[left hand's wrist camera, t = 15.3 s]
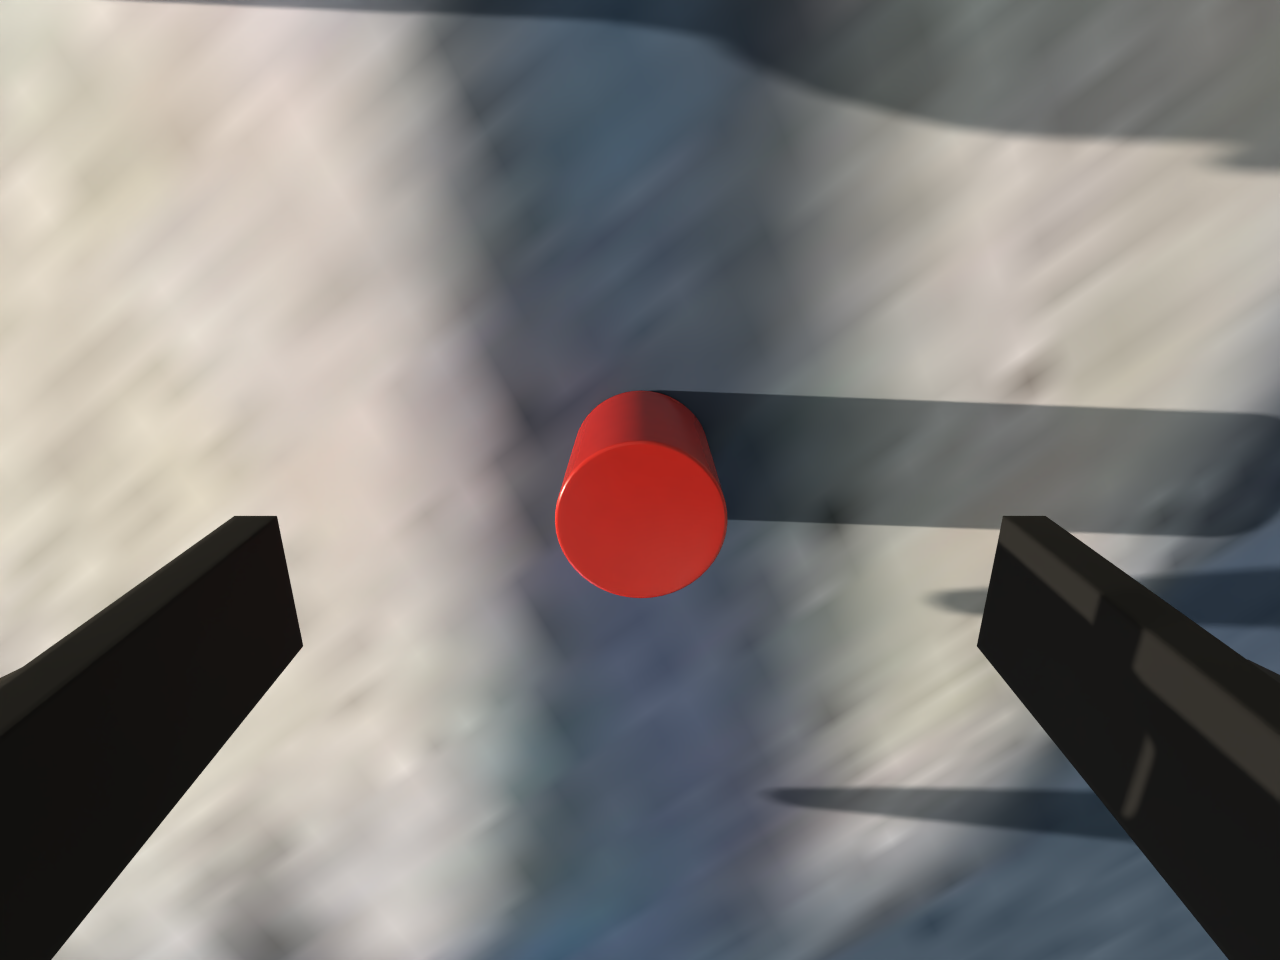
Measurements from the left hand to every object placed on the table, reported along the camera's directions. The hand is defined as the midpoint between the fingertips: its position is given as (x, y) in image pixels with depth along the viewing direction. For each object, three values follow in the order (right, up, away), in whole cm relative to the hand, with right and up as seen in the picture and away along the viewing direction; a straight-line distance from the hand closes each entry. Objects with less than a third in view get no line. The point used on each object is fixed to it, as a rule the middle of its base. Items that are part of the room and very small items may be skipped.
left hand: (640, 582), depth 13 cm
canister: (0, +3, +7) cm, 8 cm away
